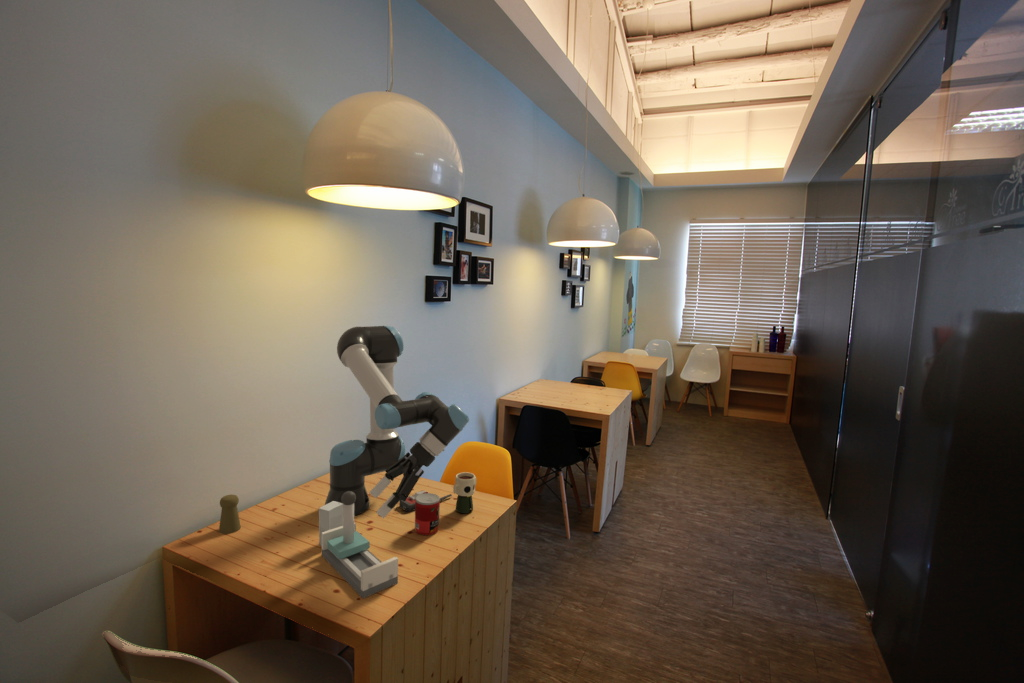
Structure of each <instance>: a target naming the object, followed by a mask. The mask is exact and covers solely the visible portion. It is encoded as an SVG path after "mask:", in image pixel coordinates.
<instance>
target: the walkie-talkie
mask: <svg viewBox="0 0 1024 683" xmlns="http://www.w3.org/2000/svg"><path fill="white" fill-rule="evenodd" d="M424 493H429V492H428V491H426V490H420V491H417V492H415V493H414V494H412V495H409V496H408V497H407V499H406V501H403V500H400V501H399V502H398V504H399V508H400V509H402V510H404V511H405V512H408V513H409V512H410V513H411V512H414V511H415V499H416V497H417V496H418V495H420V494H424ZM450 497H452V493H450V494H447V495H444V496H442V497H439V498H440V502H441V501H443V500H446V499H447V498H450Z"/></svg>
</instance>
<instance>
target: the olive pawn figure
mask: <svg viewBox="0 0 1024 683" xmlns="http://www.w3.org/2000/svg"><path fill="white" fill-rule="evenodd" d="M239 501H240V500H239V497H238V495H235V494H227V495H224V496H222V497H221V498H220V500H219V507H220V508H221V513H220V520H219V528H218V532H219V534H222V535H229V534H233V533H237V532H238V531H239V530H241V526H242V525H241V521H240V517H239V516H240V515H239V510H238V504H239Z"/></svg>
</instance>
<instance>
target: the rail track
mask: <svg viewBox="0 0 1024 683" xmlns="http://www.w3.org/2000/svg"><path fill="white" fill-rule="evenodd" d="M356 527H357V523H356V522H355V521H354V532H356V531H357V530H356V529H357V528H356ZM341 536H343V526H340V527H337V528H334V529H331V530H328V531H325V532H322V546H321V556H322V557H323V558H324V559H325V560H326V561H327V562H328V564H329V565H330V566H331V567H332V568H333V569H334V570H335V571H336V572H337V573H338V575H340V577H342V578H343V579H344V581H346V582H347V584H349V585H350V587H351V588H352V589H353V590H354V591H355V592H356V593H357V594H358V596H360V598H361V599H366V598H367V597H370V596H372V595H374V594H377V593H378V592H381V591H384V590H385V589H388V588H390V587H392V586H395V585H397V584H398V583H399V581H398V580H399V574H398V573H399V558H398V557H397V556H394V557H391V558H389V559H387V560H383V561H381V560H380V559H379V558H378V557H377V556H376V555H374V554H373V553H372V552H371V551H370V550H369V549H366V550H364V551H361V552H358V553H356V554H353V555H350V556H348V557H345V558H342V559H340V560H339V559H338V558H337V557H336V556H335V555H334V554H333V553H332V552H331V551H330V550H329V549H328V548H327V541H329V540H332V539H335V538H338V537H341Z"/></svg>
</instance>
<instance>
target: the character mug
mask: <svg viewBox="0 0 1024 683" xmlns="http://www.w3.org/2000/svg"><path fill="white" fill-rule="evenodd" d="M454 478H455V479H454V480H455V481H454V482H455V483H454V484H453V489H452V490H453V494H456V495H457V497H456V504H455V510H456V511H457V512H459V513H460V514H461V513H462V514H468V513H469V514H470V511H471V512H473V510H474V502H473V495H474V494H475V492H476V485H477V477H476V475H475V474H474V473H472V472H467V471H463V472H459V473H457V474H456V475H455V477H454Z"/></svg>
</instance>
